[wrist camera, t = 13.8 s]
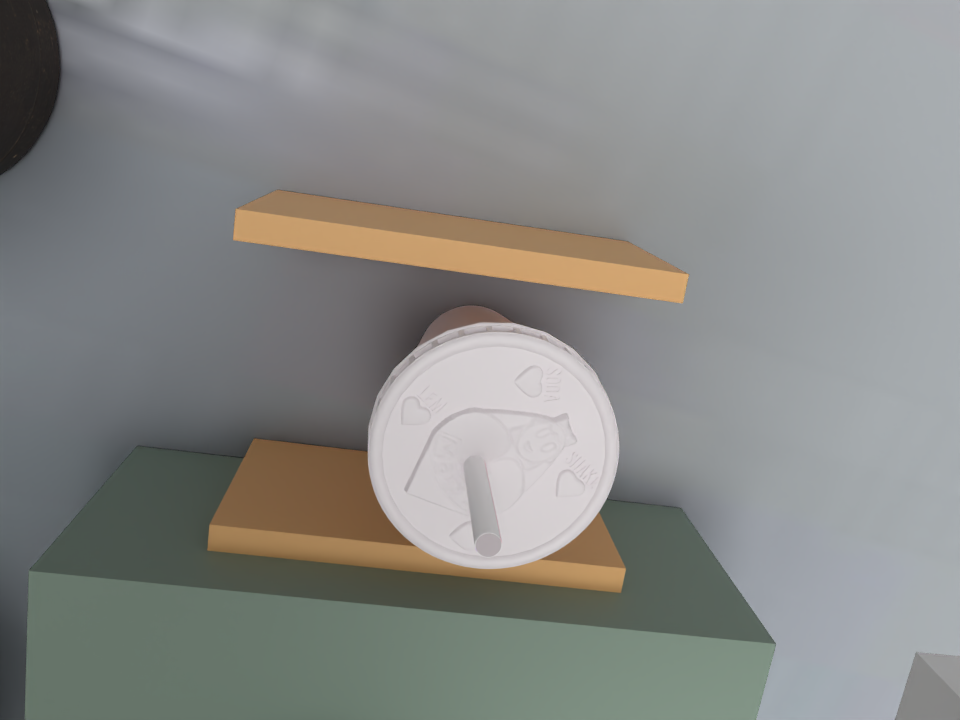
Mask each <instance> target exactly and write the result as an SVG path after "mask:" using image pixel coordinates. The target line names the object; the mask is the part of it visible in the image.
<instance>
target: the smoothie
mask: <svg viewBox="0 0 960 720" xmlns="http://www.w3.org/2000/svg"><path fill="white" fill-rule="evenodd" d="M618 459H619V433H618V427H617V422H616V418H615V415H614V411H613V409H612V406H611V404H610V400H609V398H608V396H607V394H606V392H605V390H604V388H603V386H602V384H601V382H600V380H599V378H598V376H597V374H596V372H595V371H594V370H593V369H592V368H591V367H590V366H589V365H588V364H587V363H586V361H585V360H584V359H583V358H582V357H581V356H580V355H579V354H578V353H577V352H576V351H575V350H574V349H573V348H571V347H570V346H568V345H567V344H565V343H563V342H562V341H560V340H558V339H557V338H555V337H553V336H552V335H550V334H548V333H547V332H544V331H541V330H537V329H534V328H530V327H527V326H523V325H520V324H516V323H513V322H511V321H510V320H508V319H507V318H505V317H504V316H502V315H501V314H499V313H498V312H496V311H494V310H492V309H489V308H486V307H482V306H473V305H471V306H461V307H457V308H454V309H451V310H449V311H447V312H445V313H443V314H442V315H440V316H439V317H438V318H436V319H435V320H434V321H433V322H432V323H431V324H430V326H429V327H428V328H427V330H426V331H425V333H424V335H423V337H422V339H421V341H420V342H419V344H418V346H417V347H416V348H415V349H414V350H413V351H412V352H411V353H410V354H409V355H408V356H407V357H406V358H405V359H404V360H403V361H401V362H400V363H399V364H398V365H397V366H396V367H395V368H394V369H393V371H392V372H391V374H390V376H389V377H388V379H387V381H386V382H385V384H384V385H383V387H382V389H381V390H380V392H379V393H378V395H377V397H376V401H375V404H374V407H373V411H372V414H371V418H370V421H369V425H368V467H369V473H370V479H371V482H372V486H373V489H374V492H375V495H376V497H377V500H378V502H379V504H380V506H381V508H382V510H383V511H384V513H385V514H386V516H387V517H388V519H389V520H390V521H391V523H392V524H393V525H394V526H395V528H396V529H397V530H398V531H399V532H400V533H401V534H402V535H403V536H404V537H405V538H406V539H408V540H409V541H410V542H411V543H412V544H414V545H415V546H417V547H418V548H420V549H421V550H423V551H424V552H426V553H428V554H430V555H432V556H434V557H436V558H438V559H441V560H443V561H446V562H449V563H452V564H455V565H460V566H464V567H470V568H478V569H501V568H509V567H515V566H520V565H524V564H527V563H531V562H534V561H537V560H539V559H541V558H544V557H546V556H548V555H550V554H552V553H554V552H556V551H558V550H559V549H561V548H562V547H564V546H565V545H567V544H568V543H570V542H571V541H572V540H573V539H575V538H576V537H577V536H578V535H579V534H580V533H581V532H582V531H583V530H585V529H586V527H587V526H588V525H589V524H590V523H591V522H592V521H593V519H594V518H595V517H596V515H597V514H598V512H599V511H600V510H601V508H602V506H603V504H604V503H605V501H606V499H607V497H608V495H609V493H610V490H611V488H612V485H613V482H614V479H615V475H616V471H617V467H618Z"/></svg>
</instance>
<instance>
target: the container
mask: <svg viewBox="0 0 960 720" xmlns="http://www.w3.org/2000/svg"><path fill="white" fill-rule="evenodd" d="M58 80H59V51H58V43H57V36H56V31H55V26H54V23H53V20H52V17H51V14H50V11H49V8H48V6H47V3H46V1H45V0H0V174H2V173H3V172H5V171H6V170H8V169H9V168H10V167H11V166H13V165H14V164H15V163H16V162H17V161H19V160H20V159H21V158H22V157H23V156H24V155H25V154H26V153H27V151H28V150H29V149H30V148H31V146H32V145H33V144H34V142H35V141H36V139H37V138H38V136H39V135H40V133H41V131H42V130H43V128H44V126H45V124H46V122H47V120H48V118H49V116H50V114H51V111H52V108H53V105H54V102H55V98H56V92H57V88H58Z"/></svg>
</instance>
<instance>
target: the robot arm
mask: <svg viewBox="0 0 960 720" xmlns="http://www.w3.org/2000/svg"><path fill="white" fill-rule="evenodd" d="M895 720H960V656H952V655H941V654H931V653H920V652H916V654H915V657H914V660H913V664H912V667H911V670H910V673H909V676H908V680H907V683H906V686H905V689H904V692H903V696H902V699H901V702H900V705H899V708H898V712H897V715H896V718H895Z"/></svg>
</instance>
